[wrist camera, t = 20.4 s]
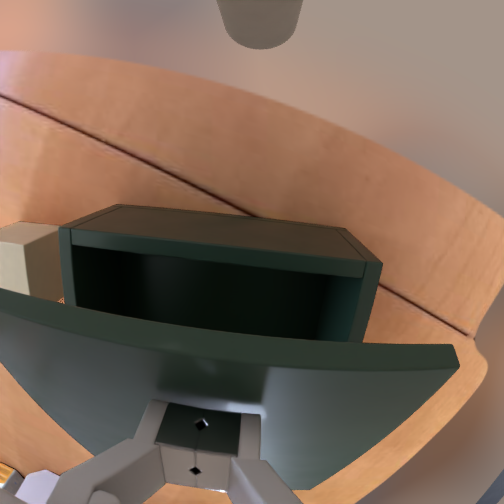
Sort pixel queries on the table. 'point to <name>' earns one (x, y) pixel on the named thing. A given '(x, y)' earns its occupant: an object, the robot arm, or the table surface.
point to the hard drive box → (10, 479)
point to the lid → (217, 381)
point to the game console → (37, 487)
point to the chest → (220, 272)
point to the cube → (31, 260)
